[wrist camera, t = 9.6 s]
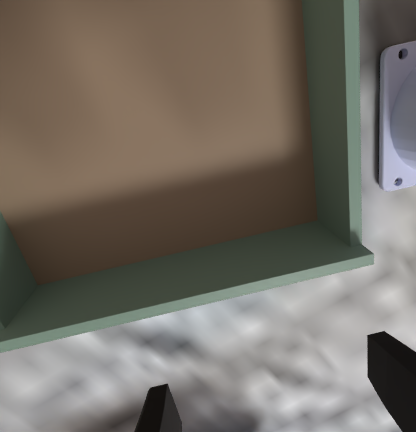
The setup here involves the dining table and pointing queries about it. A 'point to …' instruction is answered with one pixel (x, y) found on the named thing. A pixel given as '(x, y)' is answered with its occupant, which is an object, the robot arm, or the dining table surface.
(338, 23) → the green shallow tray
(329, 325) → the dining table surface
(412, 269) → the dining table surface
